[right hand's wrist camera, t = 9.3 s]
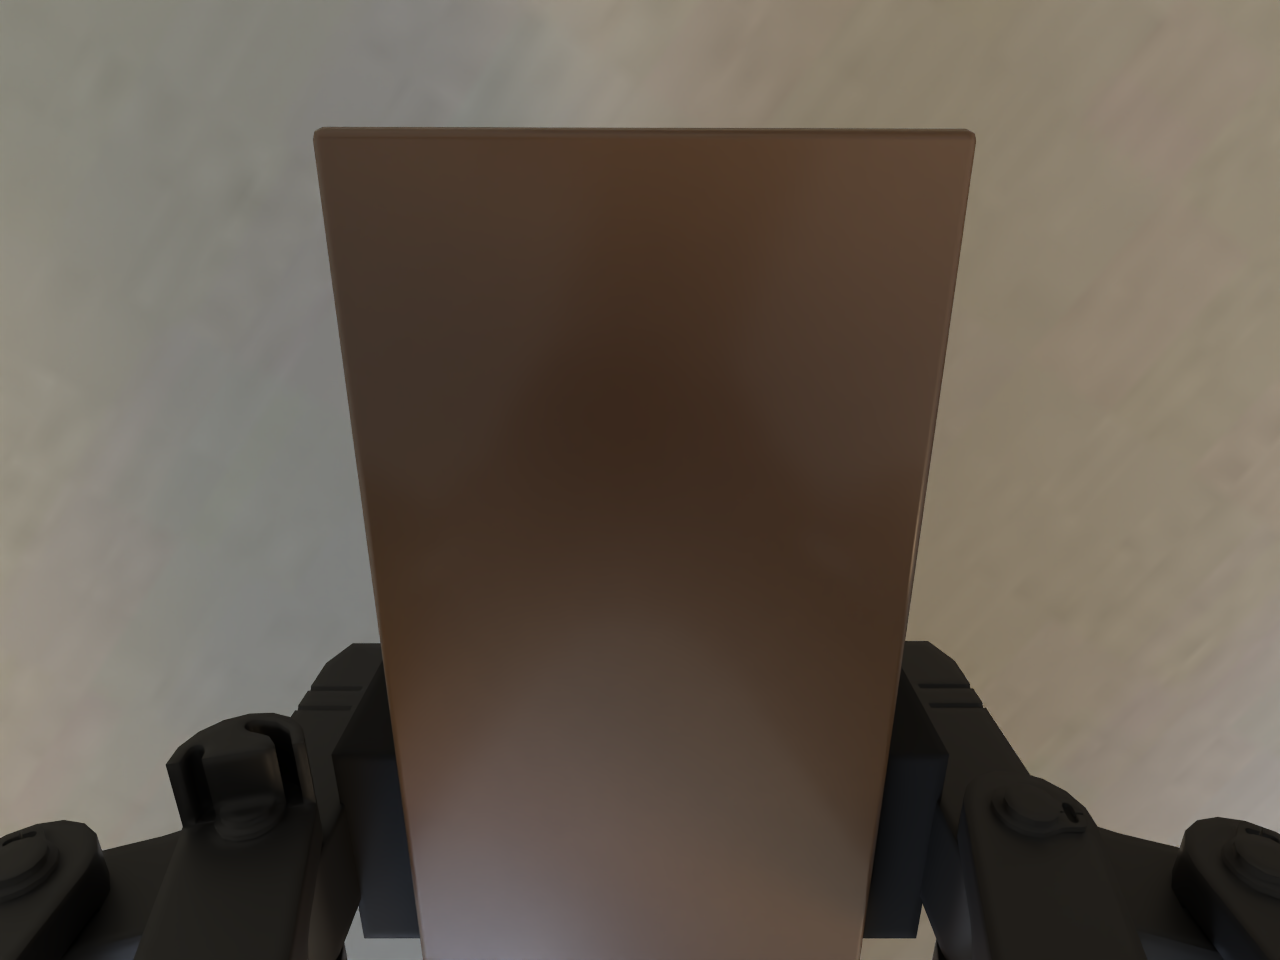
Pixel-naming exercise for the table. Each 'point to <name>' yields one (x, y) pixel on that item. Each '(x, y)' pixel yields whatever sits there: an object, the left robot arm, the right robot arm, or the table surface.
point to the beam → (642, 515)
